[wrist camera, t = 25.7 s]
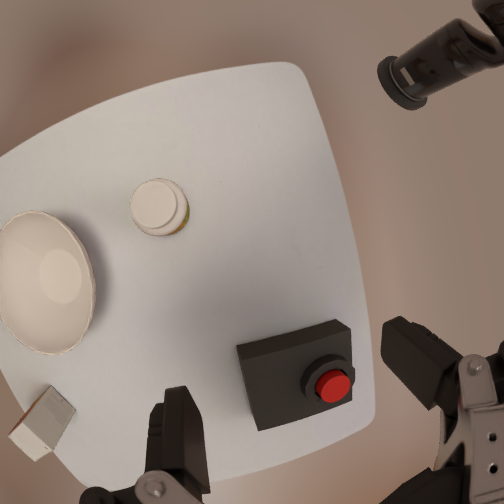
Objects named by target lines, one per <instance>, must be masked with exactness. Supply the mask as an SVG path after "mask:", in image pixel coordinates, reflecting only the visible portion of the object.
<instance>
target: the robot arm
mask: <svg viewBox="0 0 504 504" xmlns="http://www.w3.org/2000/svg"><path fill="white" fill-rule="evenodd" d="M472 6H473V8H474V10H475V11H476V13H477V14H478V15H479V17H480V18H481V19H482V21H484V23H485V24H486V25H487V26H488V28H489V29H490V30H491V31H492V33H493V34H494V35H495V36H490V35H488V34H485V33H483V32H481V31H480V30H478V29H477V28H475V27H473V26H472V25H471V24H469V23H468V22H466V21H464V20H462V19H460V18H456V19H453V20H451V21H450V22H448V23H447V24H445V25H444V26H442V27H441V28H439V29H438V30H436V31H435V32H433V33H432V34H431V35H429V36H427V37H426V38H425V39H423V40H422V41H420V42H419V43H417V44H416V45H415V46H413V47H412V48H411V49H409V50H408V51H406V52H405V53H404V54H402V55H401V56H400V57H398V58H397V59H395V60H393V61H392V62H390V64H389V66H388V72H389V75H390V78H391V80H392V82H393V84H394V85H395V87H396V88H397V89H398V90H399V91H400V92H401V93H402V94H403V95H404V96H405V97H406V98H408V99H410V100H412V101H420V100H422V99H424V98H425V97H427V96H429V95H431V94H433V93H436V92H438V91H440V90H442V89H444V88H446V87H448V86H450V85H452V84H454V83H457V82H459V81H461V80H463V79H465V78H467V77H469V76H472V75H474V74H476V73H478V72H481V71H483V70H485V69H492V68H497V67H500V66H502V65H504V0H472ZM381 357H382V359H383V361H384V363H385V364H386V365H387V366H388V367H389V368H390V369H391V370H392V372H393V373H394V374H395V375H396V376H397V377H398V378H399V379H400V380H401V381H402V382H403V383H404V385H405V386H406V387H407V388H408V389H409V390H410V391H411V392H412V393H413V394H414V395H415V396H416V398H417V399H418V400H419V401H420V402H421V403H422V404H423V405H424V406H425V407H426V408H427V410H428V411H429V410H430V409H432V408H433V407H435V406H436V405H438V406H439V407H440V408H441V411H440V442H439V444H440V445H439V451H438V455H437V457H436V460H435V464H434V469H433V471H431V469H430V468H429V467H428V468H427V469H425V470H424V471H422V472H421V473H419V474H418V475H416V476H414V477H413V478H411V479H410V480H408V481H406V482H405V483H403V484H402V485H401V486H400V487H398V488H397V489H396V490H395V491H394V492H393V493H391V494H390V495H389V496H388V497H387V498H386V499H384V500H383V501H382V502H381V503H379V504H504V341H503V342H502V343H501V344H500V346H499V349H498V352H497V353H495V354H493V355H491V356H488V357H486V358H484V357H482V356H480V355H475V354H472V355H467V356H465V357H463V356H462V355H461V354H459V353H458V352H457V351H456V350H454V349H453V348H452V347H450V346H449V345H448V344H446V343H445V342H444V341H443V340H441V339H439V338H438V337H437V336H436V335H435V334H434V333H433V334H432V332H431V331H429V330H428V329H427V328H426V327H424V326H422V325H419V324H416V323H414V322H412V323H410V322H408V321H407V320H406V319H405V318H403V317H402V316H398V317H396V318H394V319H392V320H389V321H387V322H385V323H384V324H383V327H382V341H381ZM209 493H210V485H209V477H208V469H207V460H206V451H205V441H204V430H203V421H202V417H201V414H200V411H199V409H198V407H197V406H196V404H195V402H194V400H193V398H192V396H191V394H190V392H189V390H188V389H187V387H186V386H179V387H174V388H168V389H166V390H165V396H164V403H158V404H156V405H155V407H154V408H153V410H152V412H151V413H150V419H149V428H148V438H147V450H146V464H145V472H144V474H143V475H142V476H141V477H140V478H139V479H138V480H137V482H136V484H135V485H134V486H132V487H129V488H126V489H122V490H118V491H114V492H109V491H108V490H106V489H104V488H102V487H91V488H88V489H86V490H85V491H84V492H83V493H82V495H81V497H80V501H79V504H204V503H203V502H202V494H209Z"/></svg>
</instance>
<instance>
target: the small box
mask: <svg viewBox="0 0 504 504" xmlns="http://www.w3.org/2000/svg"><path fill="white" fill-rule="evenodd" d="M75 411H76V410H75V409H74V408H73V407H72V406H71V405H70V404H69V403H68V402H67V401H66V400H64V399H63V398H62V397H61V395H60V394H59V393H58V392H57V391H56V390H55V389H54V388H53V387H52V386H50V387H49V388H48V389H47V390H46V391H45V392H44V393H43V394H42V395H41V396H40V397H39V398H38V399H37V400H36V401H35V402H34V403H33V404H32V406H31V407H30V408H29V409H28V411H27V412H26V413H25V414H24V415H23V417H22V418H21V419H20V421H19V422H18V423H17V424H16V426H15V427H14V428H13V430H12V431H11V432H10V433H9V435H8V437H9V438H10V439H11V440H12V441H13V442H14V443H15V444H16V445H17V446H18V447H19V448H21V450H22V451H23V452H24V453H25V454H27V455H28V456H29V457H30V458H31V459H32V460H33V461H37V460H38V459H39V458H41V457H43V456H44V455H46V454H48V453H49V452H52V451H54V449H55V447H56V445H57V443H58V441H59V439H60V438H61V436H62V434H63V432H64V431H65V429H66V427H67V425H68V423H69V422H70V420H71V418H72V416H73V415H74V413H75Z"/></svg>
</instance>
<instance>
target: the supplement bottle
mask: <svg viewBox="0 0 504 504" xmlns="http://www.w3.org/2000/svg"><path fill="white" fill-rule="evenodd" d="M130 208H131V214H132V218H133V220H134V222H135V224H136V225H137V227H138V228H139V229H140V230H142V231H143V232H145V233H147V234H149V235H153V236H165V235H172V234H175V233H177V232H178V231H180V230H181V229H182V228H183V227H184V226H185V225H186V223H187V221H188V218H189V212H190V210H189V204H188V201H187V199H186V197H185V195H184V193H183V191H182V189H181V188H180V187H179V186H178V185H177V184H176V183H174V182H172V181H170V180H167V179H162V178H158V179H152V180H149V181H147V182H145V183H143V184H142V185H140V186H139V187H138V188H137V189H136V190H135V192H134V193H133V195H132V198H131V202H130Z"/></svg>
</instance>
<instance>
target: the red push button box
mask: <svg viewBox="0 0 504 504" xmlns="http://www.w3.org/2000/svg"><path fill="white" fill-rule="evenodd" d="M236 347H237V351H238V356H239V360H240V365H241V369H242V373H243V377H244V382H245V386H246V390H247V394H248V398H249V402H250V406H251V410H252V414H253V417H254V420H255V423H256V426H257V429H258V431H261V430H265V429H269V428H273V427H277V426H280V425H284V424H287V423H291V422H294V421H297V420H300V419H303V418H306V417H309V416H312V415H315V414H318V413H321V412H324V411H326V410H329V409H332V408H334V407H337V406H339V405H342V404H344V403H347V402H349V401H352V386H353V384H354V382H355V368H354V367H353V366H352V346H351V329H350V328H349V327H347V326H346V325H344V324H342V323H341V322H339V321H338V320H336V319H335V320H332V321H328V322H325V323H322V324H319V325H315V326H312V327H308V328H305V329H301V330H298V331H294V332H290V333H287V334H283V335H279V336H275V337H271V338H267V339H263V340H259V341H255V342H251V343H246V344H242V345H237V346H236ZM330 370H340V371H341V372H343V373H344V374H345V375H346V376H347V377H348V378H349V380H350V388H349V391H348V392H347V394H346V395H345V396H344V397H343V398H342V399H340V400H338V401H336V402H326V401H324V400H323V399H322V398H321V397H320V395H319V394H318V393H317V391H316V384H317V381H318V379H319V378H320V377H321V376H322V375H323V374H324V373H326V372H327V371H330Z"/></svg>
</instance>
